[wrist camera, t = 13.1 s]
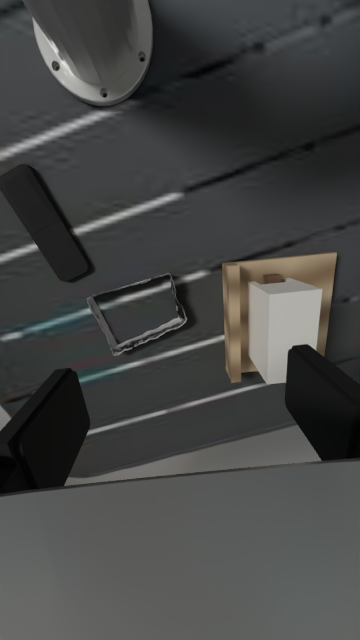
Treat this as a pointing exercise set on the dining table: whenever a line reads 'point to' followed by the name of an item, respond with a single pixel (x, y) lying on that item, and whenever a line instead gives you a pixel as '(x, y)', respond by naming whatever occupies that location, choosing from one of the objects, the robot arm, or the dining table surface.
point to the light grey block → (280, 323)
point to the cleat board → (292, 270)
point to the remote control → (43, 222)
